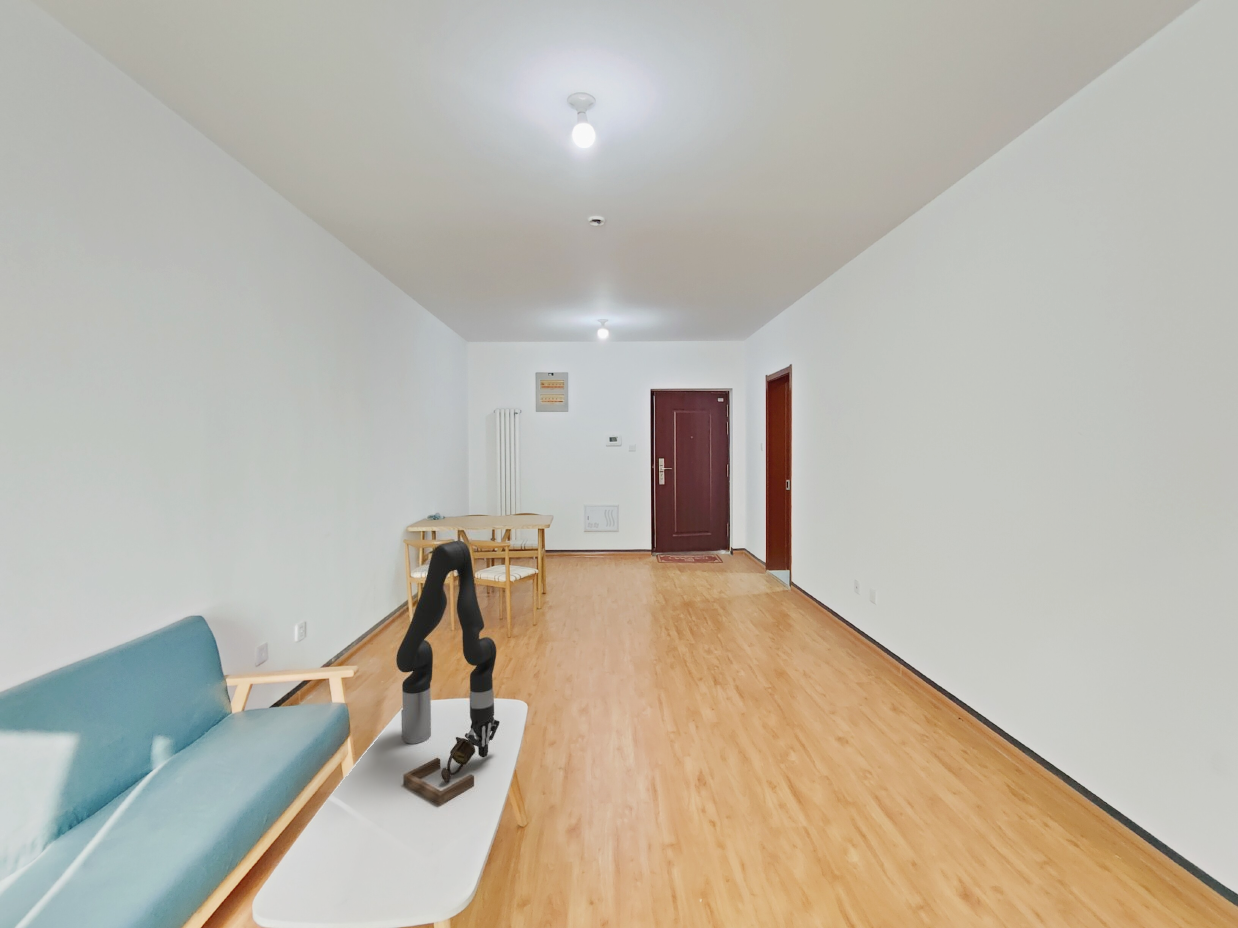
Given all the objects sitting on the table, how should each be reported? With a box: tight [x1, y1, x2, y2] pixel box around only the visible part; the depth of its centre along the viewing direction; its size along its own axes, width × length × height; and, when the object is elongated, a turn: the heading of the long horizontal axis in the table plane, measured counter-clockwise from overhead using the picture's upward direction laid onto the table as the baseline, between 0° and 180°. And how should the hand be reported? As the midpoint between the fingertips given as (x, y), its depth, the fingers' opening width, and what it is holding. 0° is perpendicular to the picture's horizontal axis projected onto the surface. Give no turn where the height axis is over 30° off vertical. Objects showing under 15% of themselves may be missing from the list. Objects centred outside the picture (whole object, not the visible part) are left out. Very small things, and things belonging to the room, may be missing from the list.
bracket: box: [402, 757, 475, 806], centre depth 173 cm, size 18×12×3 cm
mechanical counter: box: [440, 736, 476, 783], centre depth 179 cm, size 7×13×10 cm, turn 172°
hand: (483, 755), depth 186 cm, fingers closed
